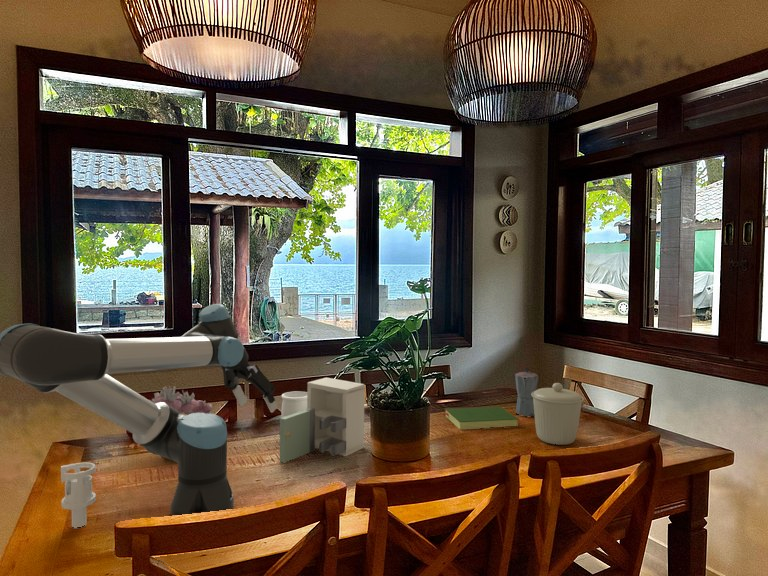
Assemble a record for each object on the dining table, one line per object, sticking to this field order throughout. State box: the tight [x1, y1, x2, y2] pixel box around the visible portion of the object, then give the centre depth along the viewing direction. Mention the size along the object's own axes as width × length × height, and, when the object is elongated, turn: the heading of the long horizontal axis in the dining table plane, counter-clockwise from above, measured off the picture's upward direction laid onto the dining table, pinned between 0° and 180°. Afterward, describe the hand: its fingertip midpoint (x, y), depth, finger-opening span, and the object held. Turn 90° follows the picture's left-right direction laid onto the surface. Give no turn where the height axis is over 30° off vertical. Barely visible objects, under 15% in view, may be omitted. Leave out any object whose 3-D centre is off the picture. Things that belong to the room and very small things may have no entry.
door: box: [278, 408, 316, 464], centre depth 169 cm, size 15×4×14 cm, turn 146°
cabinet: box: [306, 376, 366, 457], centre depth 176 cm, size 16×17×22 cm
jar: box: [281, 390, 307, 418], centre depth 190 cm, size 11×10×15 cm
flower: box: [148, 385, 213, 457], centre depth 171 cm, size 20×22×25 cm
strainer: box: [60, 461, 97, 529], centre depth 123 cm, size 7×7×15 cm
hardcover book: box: [443, 405, 519, 430], centre depth 210 cm, size 25×19×4 cm
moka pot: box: [514, 367, 539, 417], centre depth 220 cm, size 10×15×20 cm, turn 163°
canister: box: [531, 382, 585, 446], centre depth 188 cm, size 18×18×21 cm
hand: (258, 406), depth 163 cm, fingers open, 13 cm apart
